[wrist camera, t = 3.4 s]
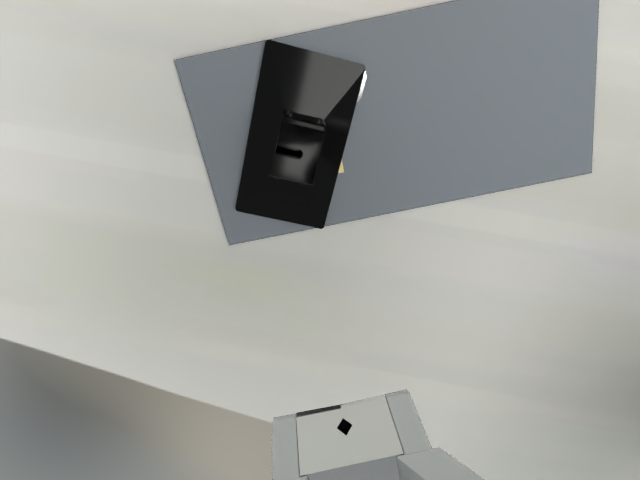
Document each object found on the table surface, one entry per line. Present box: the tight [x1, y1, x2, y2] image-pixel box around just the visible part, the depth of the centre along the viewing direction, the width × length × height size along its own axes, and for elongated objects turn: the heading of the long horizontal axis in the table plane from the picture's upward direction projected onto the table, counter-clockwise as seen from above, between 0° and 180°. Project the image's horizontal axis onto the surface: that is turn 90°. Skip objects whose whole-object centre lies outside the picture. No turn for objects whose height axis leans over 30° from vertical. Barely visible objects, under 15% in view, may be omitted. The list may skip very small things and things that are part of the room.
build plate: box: [235, 40, 367, 229], centre depth 31 cm, size 12×7×5 cm, turn 166°
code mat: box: [175, 0, 599, 245], centre depth 33 cm, size 14×29×1 cm, turn 101°
